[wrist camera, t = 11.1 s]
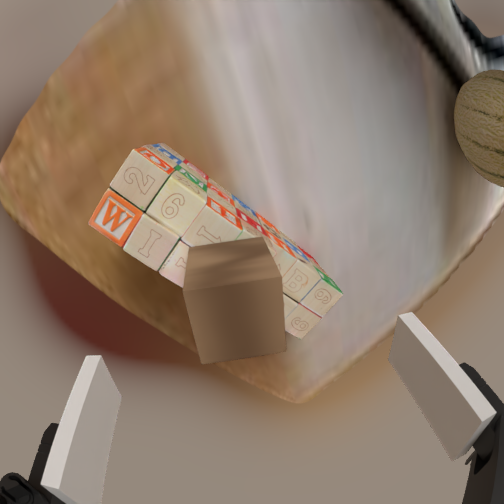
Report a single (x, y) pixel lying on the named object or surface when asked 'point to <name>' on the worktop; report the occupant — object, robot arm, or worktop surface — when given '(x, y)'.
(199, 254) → the walnut block
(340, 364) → the worktop surface
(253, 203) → the worktop surface
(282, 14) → the worktop surface
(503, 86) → the cantaloupe
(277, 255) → the stack of blocks
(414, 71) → the worktop surface
